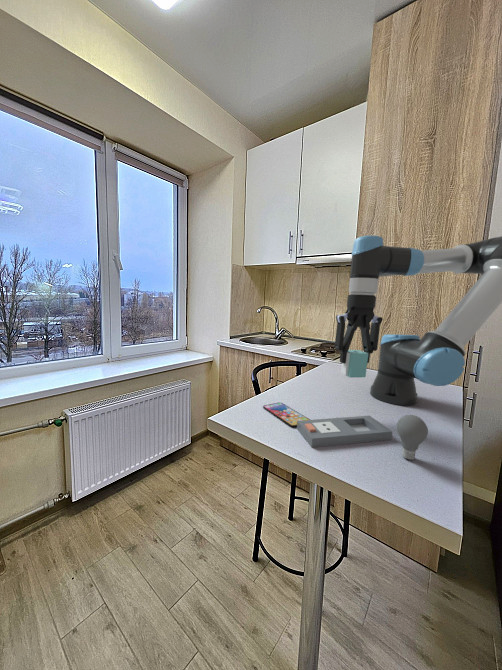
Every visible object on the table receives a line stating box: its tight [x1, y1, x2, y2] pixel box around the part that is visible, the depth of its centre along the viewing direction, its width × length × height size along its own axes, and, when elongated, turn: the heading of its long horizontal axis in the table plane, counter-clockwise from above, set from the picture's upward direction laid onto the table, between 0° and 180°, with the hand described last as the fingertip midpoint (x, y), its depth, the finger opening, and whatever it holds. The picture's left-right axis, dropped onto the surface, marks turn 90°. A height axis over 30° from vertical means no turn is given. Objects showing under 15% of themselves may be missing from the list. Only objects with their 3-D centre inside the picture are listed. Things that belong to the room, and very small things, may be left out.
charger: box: [345, 349, 368, 379], centre depth 80 cm, size 5×5×7 cm
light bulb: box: [396, 414, 429, 460], centre depth 60 cm, size 6×6×10 cm
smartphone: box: [262, 402, 311, 429], centre depth 81 cm, size 7×1×15 cm
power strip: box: [296, 415, 393, 448], centre depth 70 cm, size 22×9×3 cm, turn 103°
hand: (353, 373), depth 80 cm, fingers closed on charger, 5 cm apart
